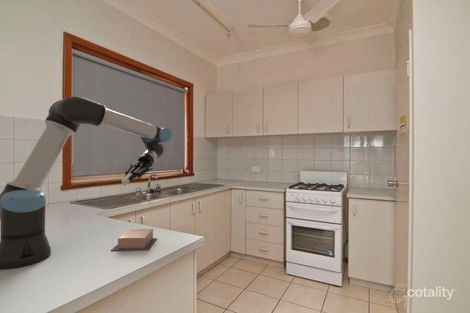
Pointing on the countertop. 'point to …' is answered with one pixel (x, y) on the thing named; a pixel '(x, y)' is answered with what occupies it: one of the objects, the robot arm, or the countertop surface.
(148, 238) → the tile
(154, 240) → the mat
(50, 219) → the countertop surface
